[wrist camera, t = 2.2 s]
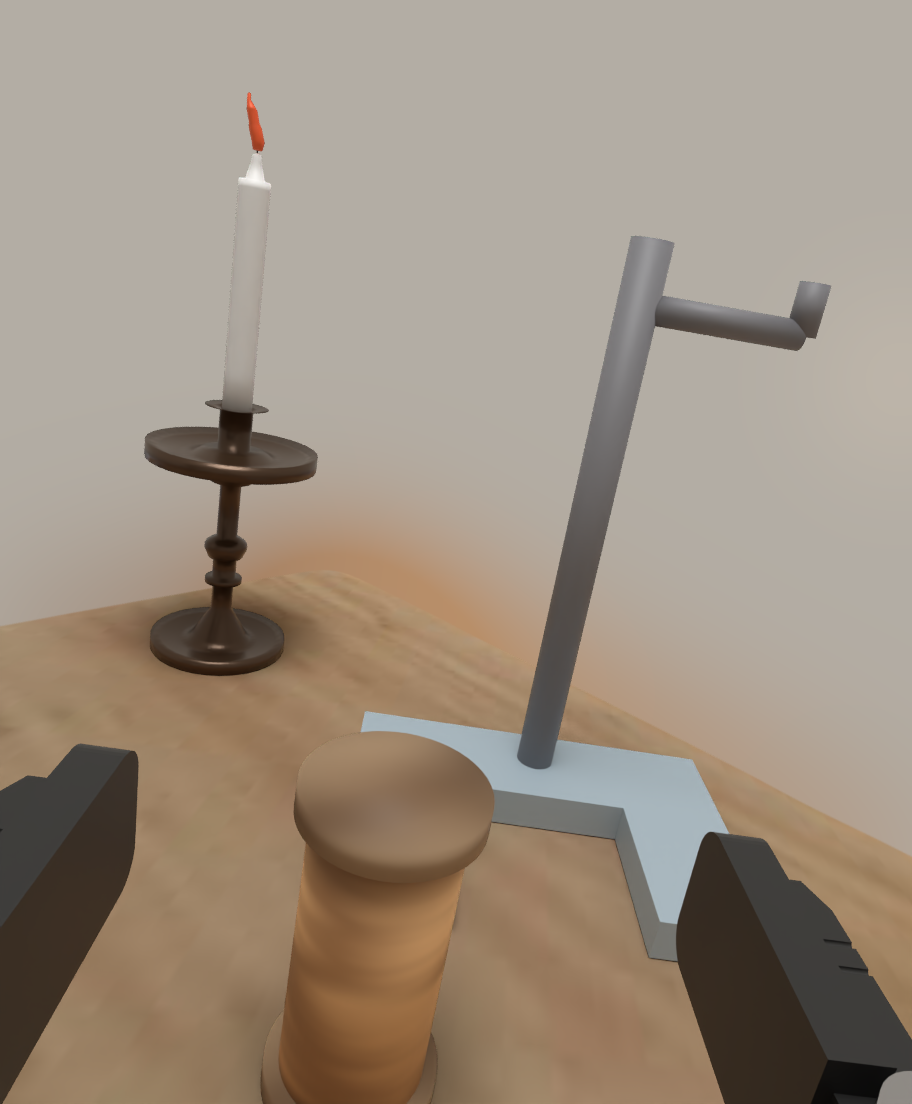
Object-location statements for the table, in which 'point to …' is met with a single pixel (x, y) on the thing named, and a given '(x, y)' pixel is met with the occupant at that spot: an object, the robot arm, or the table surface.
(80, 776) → the robot arm
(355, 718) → the table surface
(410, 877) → the cord spool
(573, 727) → the table surface
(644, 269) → the hook stand
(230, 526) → the candlestick
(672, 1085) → the table surface
